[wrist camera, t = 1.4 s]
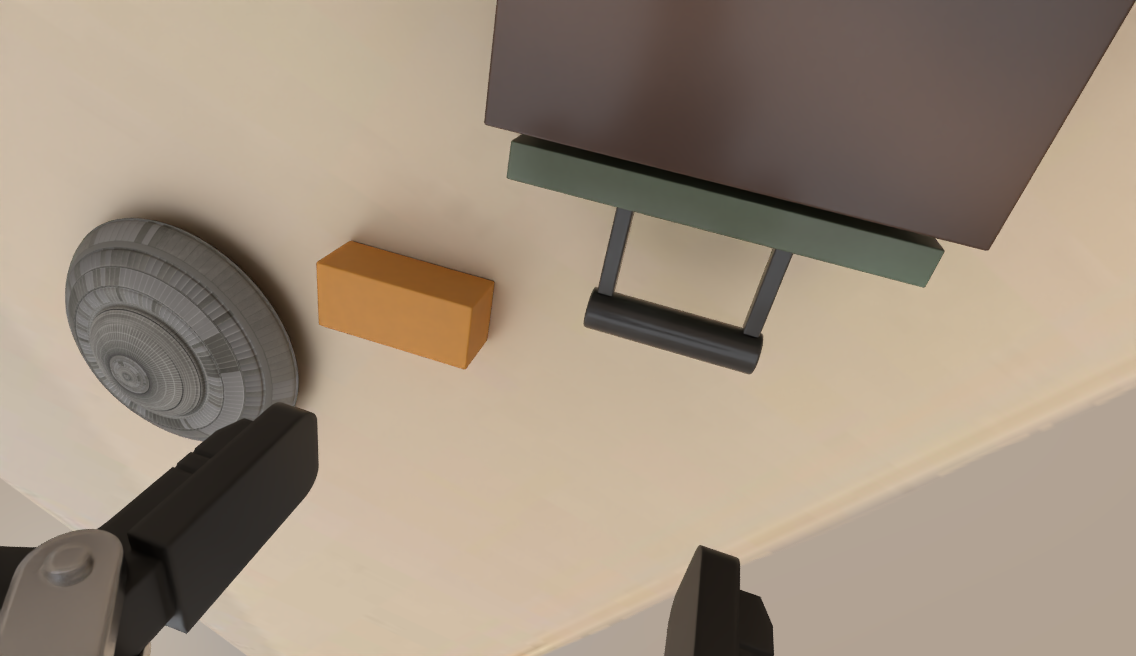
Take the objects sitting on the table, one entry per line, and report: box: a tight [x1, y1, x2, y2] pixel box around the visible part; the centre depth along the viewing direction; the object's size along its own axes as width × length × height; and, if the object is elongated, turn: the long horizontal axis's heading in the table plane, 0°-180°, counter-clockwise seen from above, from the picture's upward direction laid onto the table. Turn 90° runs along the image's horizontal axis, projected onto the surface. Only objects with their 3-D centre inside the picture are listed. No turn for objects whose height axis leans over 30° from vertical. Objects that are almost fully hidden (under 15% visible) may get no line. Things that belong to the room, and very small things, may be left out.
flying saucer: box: [65, 218, 299, 441], centre depth 35 cm, size 15×15×6 cm
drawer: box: [507, 134, 944, 374], centre depth 19 cm, size 19×13×7 cm, turn 170°
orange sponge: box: [316, 241, 494, 369], centre depth 31 cm, size 8×4×3 cm, turn 80°
